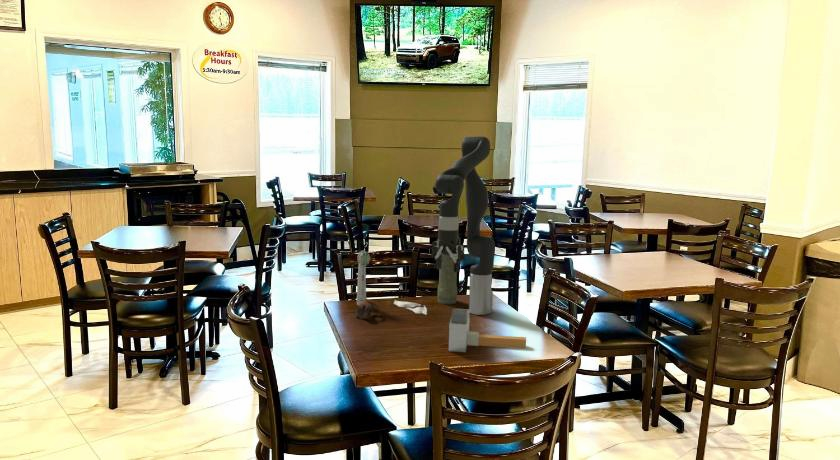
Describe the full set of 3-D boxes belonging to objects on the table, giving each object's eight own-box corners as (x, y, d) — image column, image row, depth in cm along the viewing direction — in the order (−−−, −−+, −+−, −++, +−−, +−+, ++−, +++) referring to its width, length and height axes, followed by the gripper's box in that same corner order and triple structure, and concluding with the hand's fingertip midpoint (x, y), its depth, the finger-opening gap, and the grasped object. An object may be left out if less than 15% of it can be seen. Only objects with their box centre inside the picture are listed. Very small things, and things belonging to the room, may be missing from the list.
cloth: (438, 315, 268) (438, 310, 268) (408, 318, 263) (408, 313, 262) (414, 300, 292) (414, 295, 292) (386, 303, 286) (386, 298, 286)
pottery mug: (353, 314, 265) (362, 296, 266) (373, 324, 266) (382, 306, 267) (354, 316, 253) (363, 297, 254) (375, 326, 254) (384, 307, 255)
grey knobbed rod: (365, 304, 281) (365, 248, 278) (370, 307, 275) (371, 251, 272) (354, 305, 279) (354, 249, 276) (359, 308, 273) (359, 252, 270)
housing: (468, 335, 239) (469, 301, 238) (465, 352, 220) (466, 316, 218) (453, 334, 240) (454, 300, 238) (448, 351, 221) (449, 315, 219)
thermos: (430, 302, 287) (432, 226, 282) (450, 298, 295) (452, 224, 290) (443, 306, 280) (445, 228, 276) (463, 302, 288) (465, 226, 283)
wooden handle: (525, 345, 229) (525, 334, 228) (525, 348, 225) (526, 338, 224) (461, 341, 232) (462, 330, 231) (461, 344, 228) (461, 334, 227)
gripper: (469, 229, 235) (468, 272, 237) (440, 225, 244) (439, 266, 246) (456, 231, 229) (455, 274, 231) (427, 227, 239) (426, 268, 241)
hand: (447, 270), depth 239 cm, fingers open, 8 cm apart
